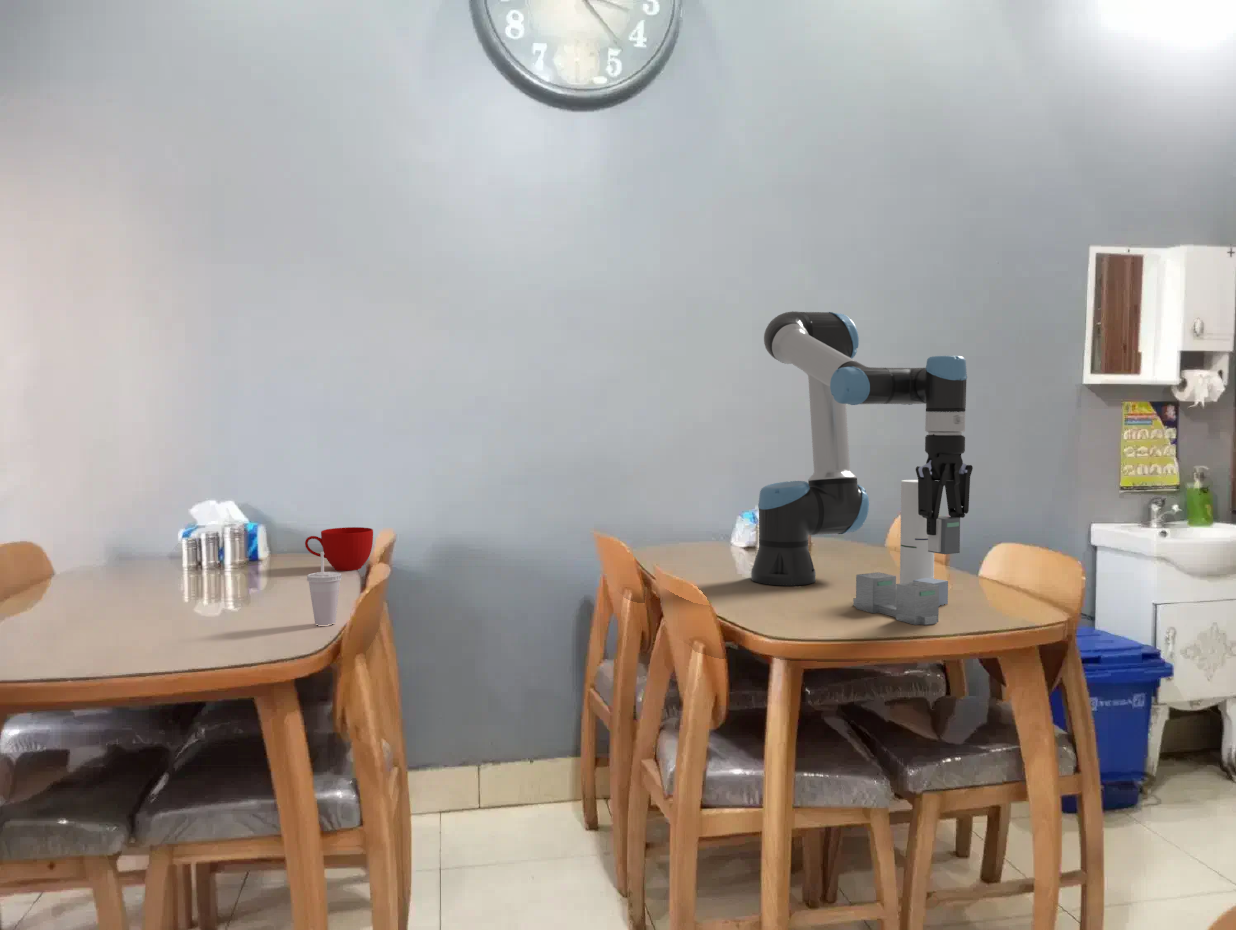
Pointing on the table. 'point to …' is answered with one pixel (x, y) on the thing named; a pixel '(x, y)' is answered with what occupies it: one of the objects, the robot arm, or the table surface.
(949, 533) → the block
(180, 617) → the table surface
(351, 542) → the ceramic cup
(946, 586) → the loose block slate
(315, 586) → the smoothie
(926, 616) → the grey stepped block assembly
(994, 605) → the table surface
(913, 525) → the cylindrical container
